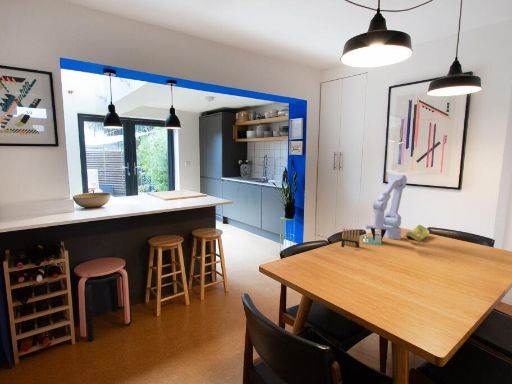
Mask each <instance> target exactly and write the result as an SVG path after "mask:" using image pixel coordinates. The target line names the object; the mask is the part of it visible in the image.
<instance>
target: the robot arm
mask: <svg viewBox="0 0 512 384" xmlns="http://www.w3.org/2000/svg"><path fill="white" fill-rule="evenodd" d="M407 182H408V179H407V176H406V175H405V174H392V173H391V174H389V176H388V177H387V186H386V187H385V189H384V191H382V192H381V194H380V195H379V197H378V199H377V200H375V201H374V202H373V204H372V208H373V212H374V215H373V216H374V217H373V225H372V224H371V225H368V224H367V225H365V229H367V230H369V229H370V231H371V234H372V237H373V240H374V241H375V233H376V230H378V231H379V230H380V233H381V242H383V239H384V238H385V239H388V240H400V241H401V239H402V238H401V234H402V233H401V232H402V228H401V224H402V216H401V215H400V214H399V209H400V205H401V204H400V203H401V199H402V194H403V189H406V185H407ZM392 192H393V194H392V198H391V193H392ZM390 198H391V204H390V207H389V211H388V212H386V213H385V211H386V210H387V208H388V205H389V204H388V202H389V200H390Z"/></svg>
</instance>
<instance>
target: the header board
mask: <svg viewBox="0 0 512 384" xmlns="http://www.w3.org/2000/svg"><path fill="white" fill-rule="evenodd" d="M360 238H361V239H360V240H361V245H369V246H378V247H383V246H384V245H383V243H382V242H383V241H381V244H379V243H375V242H374V240H373V236H367V235H365V236H362V235H361V237H360Z"/></svg>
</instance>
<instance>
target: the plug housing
mask: <svg viewBox="0 0 512 384" xmlns="http://www.w3.org/2000/svg"><path fill="white" fill-rule="evenodd" d="M374 242H375V243H379V244H381V242H382V241H381V232H375V241H374Z"/></svg>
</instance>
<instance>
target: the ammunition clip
mask: <svg viewBox="0 0 512 384" xmlns="http://www.w3.org/2000/svg"><path fill="white" fill-rule="evenodd" d="M360 238H361V237H360V230H359V229H358V230H357V229H355V230H354V229H352V228H351V229H350V228H349V229H348V228H345V227H343V229H342V235H341V245H340V247H342V248H345V246H348V247H353V248H354V247H355V250H357V251H358V250H360V249H357V248H360V240H361V239H360Z"/></svg>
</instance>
